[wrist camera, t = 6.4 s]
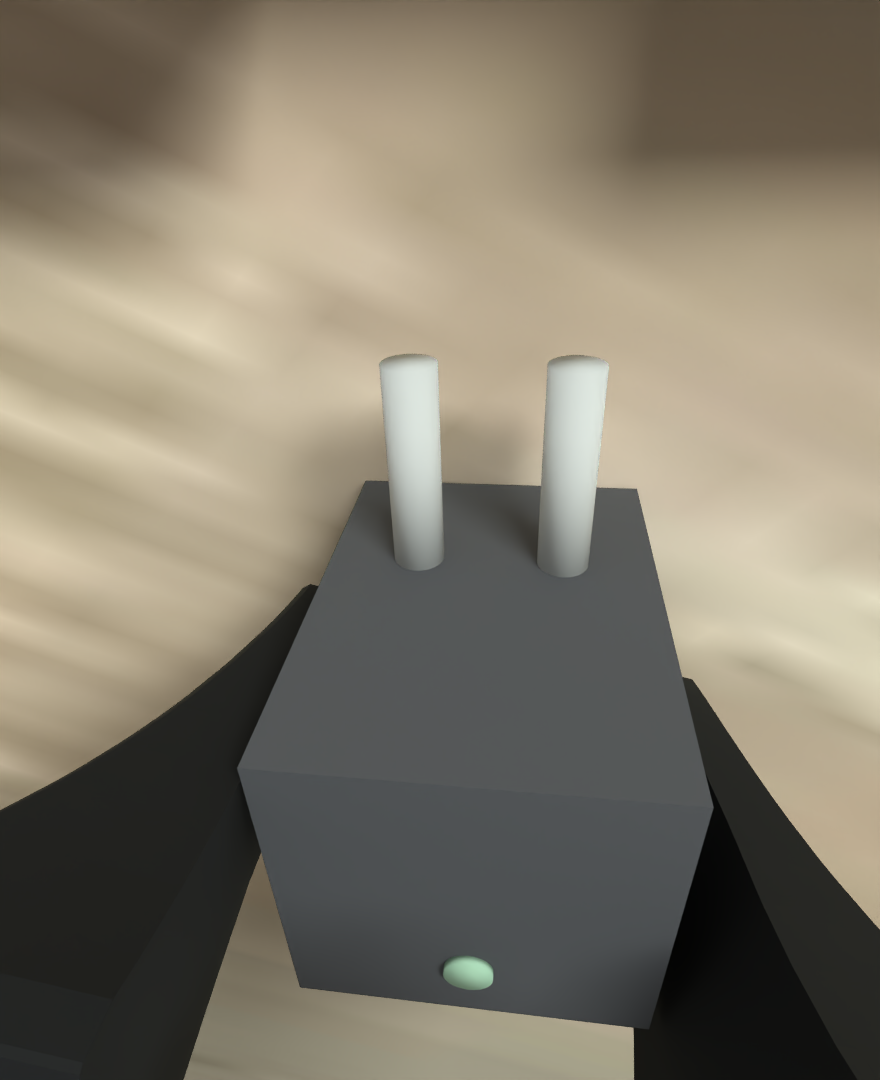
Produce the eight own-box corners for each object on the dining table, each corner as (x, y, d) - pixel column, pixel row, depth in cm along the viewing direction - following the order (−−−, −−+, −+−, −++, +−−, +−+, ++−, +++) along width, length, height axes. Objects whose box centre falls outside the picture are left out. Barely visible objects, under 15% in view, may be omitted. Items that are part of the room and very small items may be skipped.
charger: (384, 671, 14) (297, 995, 9) (348, 313, 10) (161, 531, 5) (609, 685, 14) (649, 1038, 9) (661, 313, 10) (792, 557, 5)
